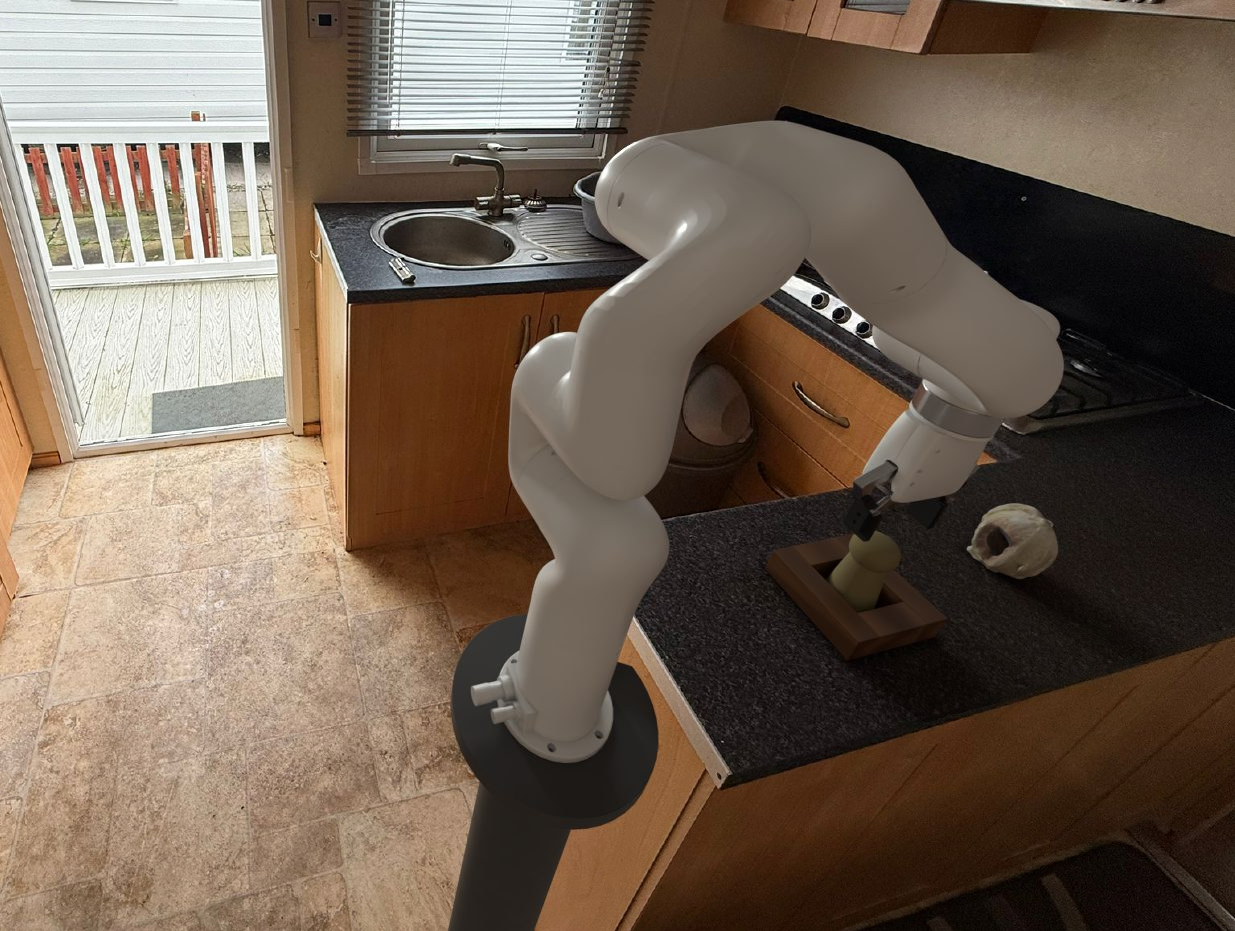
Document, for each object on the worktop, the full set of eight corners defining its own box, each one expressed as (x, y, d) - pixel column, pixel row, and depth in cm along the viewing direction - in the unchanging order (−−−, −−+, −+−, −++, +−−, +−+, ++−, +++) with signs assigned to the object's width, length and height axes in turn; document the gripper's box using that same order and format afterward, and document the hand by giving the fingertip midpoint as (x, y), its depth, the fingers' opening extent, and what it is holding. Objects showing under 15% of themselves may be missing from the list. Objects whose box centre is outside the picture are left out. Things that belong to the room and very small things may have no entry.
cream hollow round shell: (968, 549, 97) (990, 486, 95) (1045, 579, 91) (1070, 513, 89) (959, 565, 91) (983, 498, 89) (1042, 598, 85) (1069, 527, 83)
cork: (824, 613, 83) (859, 552, 77) (814, 576, 88) (846, 516, 83) (878, 628, 81) (917, 566, 76) (864, 589, 87) (900, 529, 81)
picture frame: (847, 661, 77) (859, 642, 76) (764, 568, 89) (773, 550, 87) (934, 637, 81) (948, 618, 79) (844, 551, 92) (854, 533, 90)
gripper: (981, 381, 75) (913, 493, 83) (863, 395, 70) (804, 513, 79) (1052, 422, 69) (971, 539, 77) (928, 440, 64) (856, 563, 72)
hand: (887, 526), depth 78 cm, fingers open, 9 cm apart
